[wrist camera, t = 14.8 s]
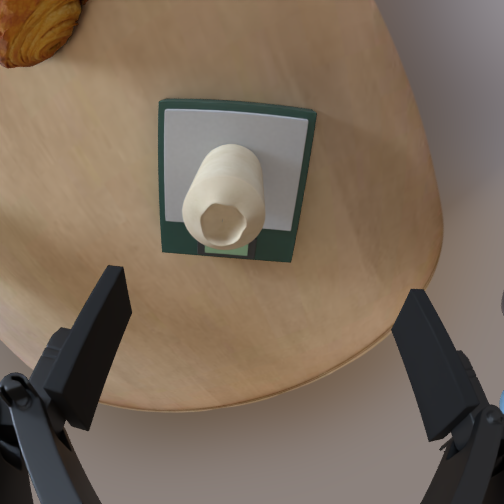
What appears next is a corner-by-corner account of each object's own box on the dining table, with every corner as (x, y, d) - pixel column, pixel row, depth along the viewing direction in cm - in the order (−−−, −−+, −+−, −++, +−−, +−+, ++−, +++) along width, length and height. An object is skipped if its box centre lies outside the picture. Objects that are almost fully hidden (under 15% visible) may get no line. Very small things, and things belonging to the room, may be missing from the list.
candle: (195, 148, 27) (168, 191, 18) (258, 139, 26) (260, 178, 18) (206, 203, 30) (188, 266, 21) (265, 196, 29) (270, 257, 21)
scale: (312, 109, 28) (318, 114, 25) (289, 250, 36) (291, 267, 34) (165, 98, 27) (155, 102, 24) (166, 240, 36) (160, 256, 33)
